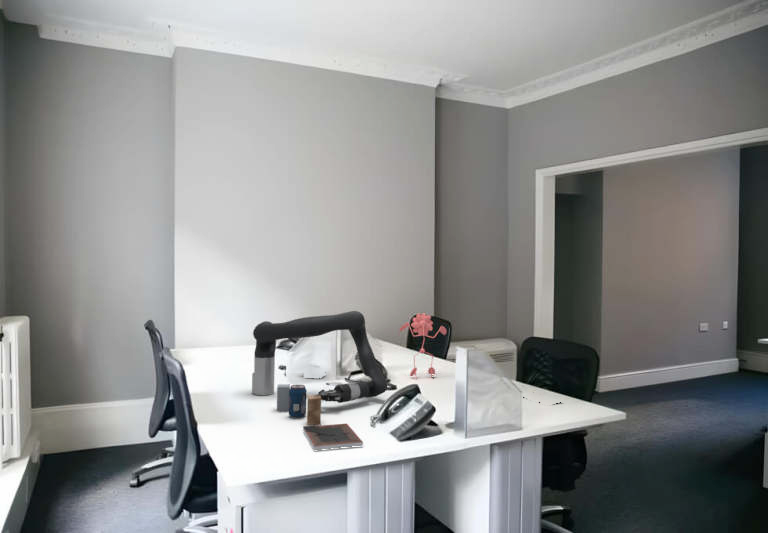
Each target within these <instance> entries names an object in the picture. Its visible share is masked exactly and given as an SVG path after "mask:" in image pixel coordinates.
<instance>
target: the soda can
mask: <svg viewBox="0 0 768 533" xmlns="http://www.w3.org/2000/svg"><path fill="white" fill-rule="evenodd" d="M306 415H307V389H306V385H304V384H293V385H290V390H289V411H288V416H289V417H290V418H292V419H302V418H304V417H305V416H306ZM301 417H302V418H301Z"/></svg>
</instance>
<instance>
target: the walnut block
mask: <svg viewBox="0 0 768 533" xmlns="http://www.w3.org/2000/svg"><path fill="white" fill-rule="evenodd" d="M314 395H315V396H312V395H307V402H306V426H320V425H321V420H322V414H321V413H322V412H321V410H322V400H321V395H318V394H314ZM319 424H320V425H319Z"/></svg>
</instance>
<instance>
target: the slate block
mask: <svg viewBox="0 0 768 533" xmlns="http://www.w3.org/2000/svg"><path fill="white" fill-rule="evenodd" d="M290 388H291V384H290V383H289V384H282V383H281V384H280V383H279V384H277V387H276V390H277V391H276V412H277V411H279V412H289V390H290Z"/></svg>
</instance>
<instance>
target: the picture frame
mask: <svg viewBox="0 0 768 533" xmlns="http://www.w3.org/2000/svg"><path fill="white" fill-rule="evenodd" d="M302 431H304V432H303V433H305V434H304V436H305V437H306V439H307V438H308V439H307V441H308V440H309V441H308V442H310V443H311V444H310V443H309V444H310V446H311V445H312V446H311V448H312V447H313V448H312V449H314V450H322V449H331V448H341V447H352V446H362V445H363V446H364V442H363V440H362V439H361V438H360V437H359V436H358V435H357V433H356V432H355V431H354V430H353V429H352V428H351V426H350V425H349V424H348V423H338V424H337V423H336V424H335V423H334V424H324V425H321V424H320V425H305V426H303V428H302ZM314 450H313V451H314Z"/></svg>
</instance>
